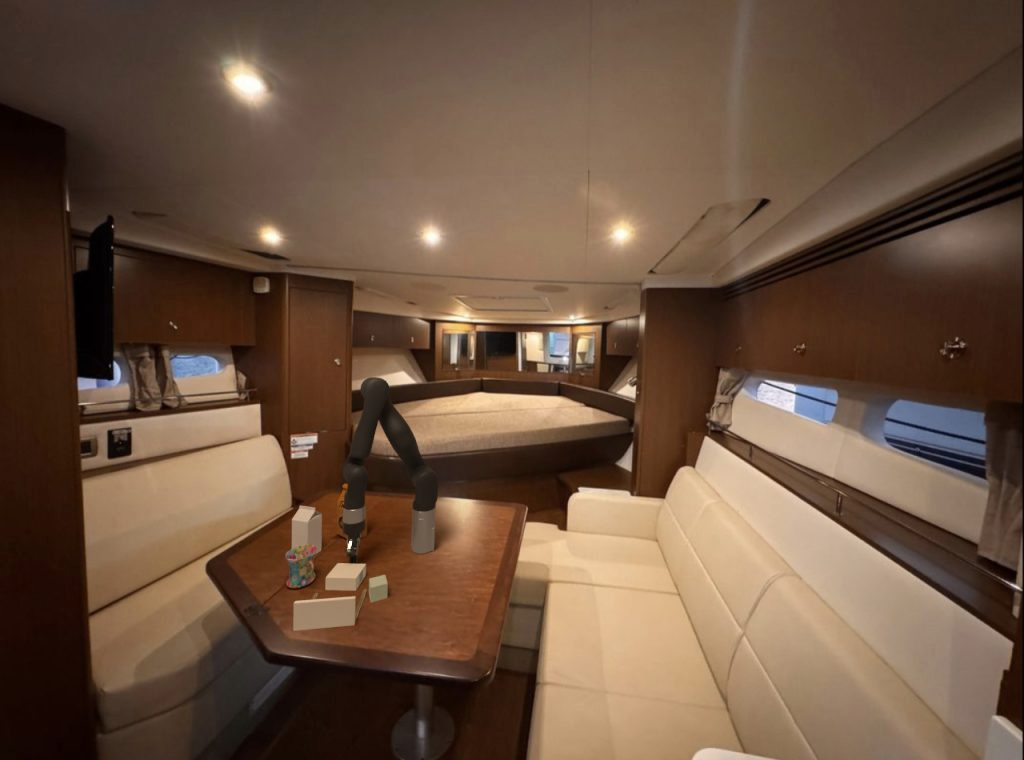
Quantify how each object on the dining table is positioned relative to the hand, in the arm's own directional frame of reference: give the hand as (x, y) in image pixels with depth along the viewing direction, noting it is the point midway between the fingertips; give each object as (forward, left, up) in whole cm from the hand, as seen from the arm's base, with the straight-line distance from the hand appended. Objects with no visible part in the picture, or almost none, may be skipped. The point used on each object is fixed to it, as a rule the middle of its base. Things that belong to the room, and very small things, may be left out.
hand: (353, 563), depth 122 cm
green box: (-12, +16, -1) cm, 20 cm away
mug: (+14, +7, -2) cm, 16 cm away
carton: (0, +8, -2) cm, 9 cm away
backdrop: (0, +28, -1) cm, 28 cm away
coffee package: (+7, -24, -2) cm, 25 cm away
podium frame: (0, +20, -1) cm, 20 cm away
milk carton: (+20, -11, -2) cm, 23 cm away
